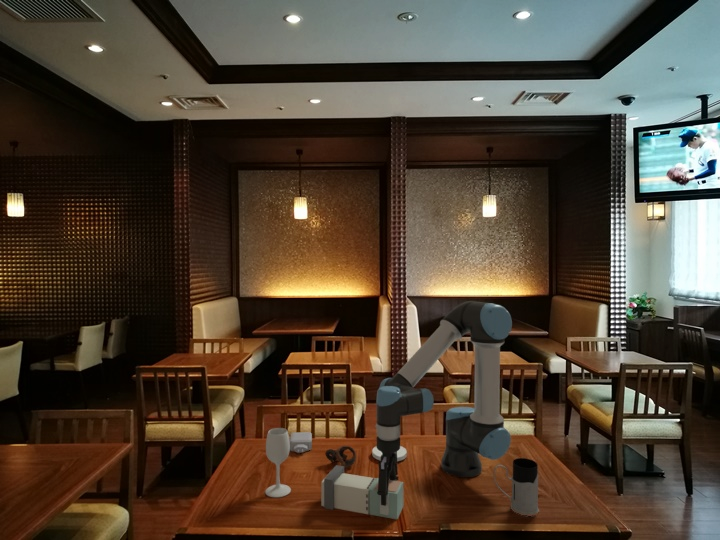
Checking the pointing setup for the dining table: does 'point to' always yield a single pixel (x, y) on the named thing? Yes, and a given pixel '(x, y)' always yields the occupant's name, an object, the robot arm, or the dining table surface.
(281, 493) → the wineglass
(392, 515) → the retro monitor box
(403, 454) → the plastic lid
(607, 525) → the dining table surface
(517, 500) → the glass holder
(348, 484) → the cream rectangular block
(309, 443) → the charger
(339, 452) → the brown hollow ring
